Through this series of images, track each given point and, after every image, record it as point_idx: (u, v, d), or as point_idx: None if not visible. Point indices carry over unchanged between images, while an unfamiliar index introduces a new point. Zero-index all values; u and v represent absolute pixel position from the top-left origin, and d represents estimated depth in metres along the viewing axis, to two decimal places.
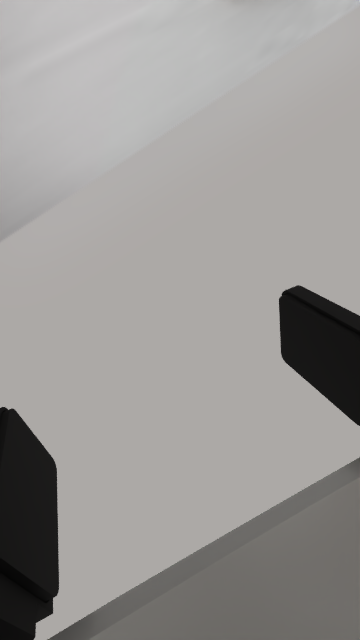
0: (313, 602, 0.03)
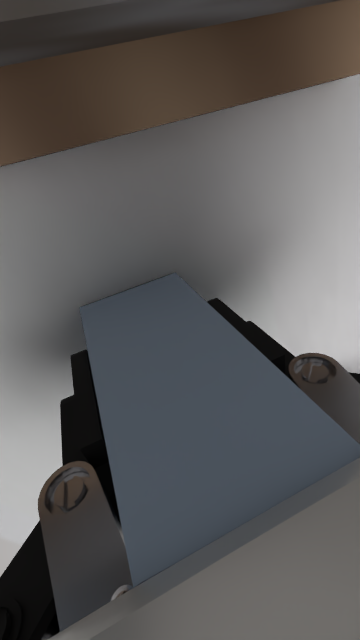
0: (313, 602, 0.03)
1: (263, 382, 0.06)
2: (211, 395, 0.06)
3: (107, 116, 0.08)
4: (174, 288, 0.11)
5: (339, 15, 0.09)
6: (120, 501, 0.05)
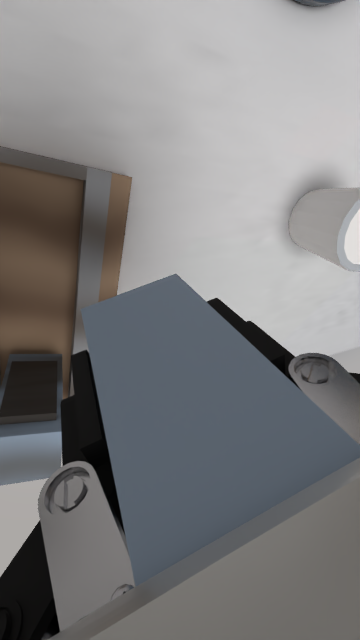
0: (313, 602, 0.03)
1: (264, 384, 0.06)
2: (213, 397, 0.06)
3: (111, 294, 0.25)
4: (175, 289, 0.11)
5: (108, 198, 0.22)
6: (122, 504, 0.05)
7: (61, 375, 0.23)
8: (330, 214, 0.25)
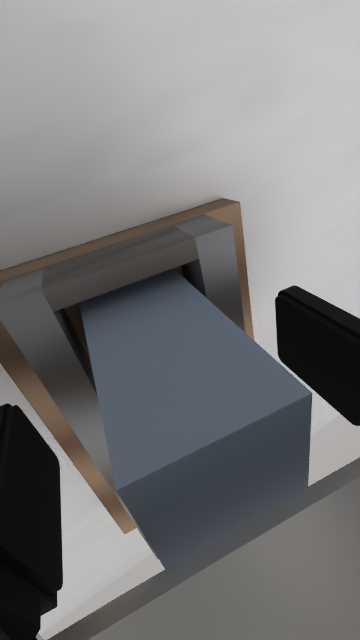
0: (313, 602, 0.03)
1: (234, 346, 0.07)
2: (189, 357, 0.07)
3: None
4: (164, 274, 0.12)
5: None
6: (108, 435, 0.06)
7: None
8: None
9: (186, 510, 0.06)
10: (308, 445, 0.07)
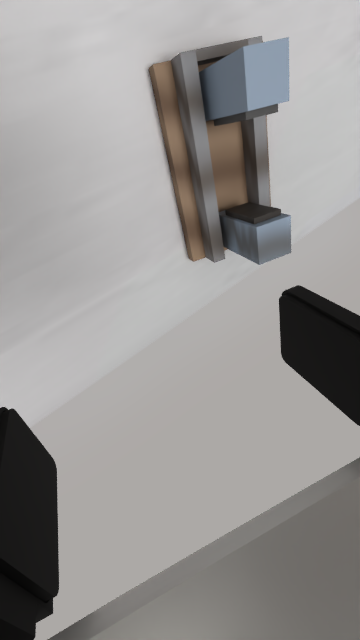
0: (313, 602, 0.03)
1: None
2: None
3: None
4: None
5: None
6: (235, 51, 0.23)
7: None
8: None
9: (255, 72, 0.23)
10: (288, 65, 0.24)
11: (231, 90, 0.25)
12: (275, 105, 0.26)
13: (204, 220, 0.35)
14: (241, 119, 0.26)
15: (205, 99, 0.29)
